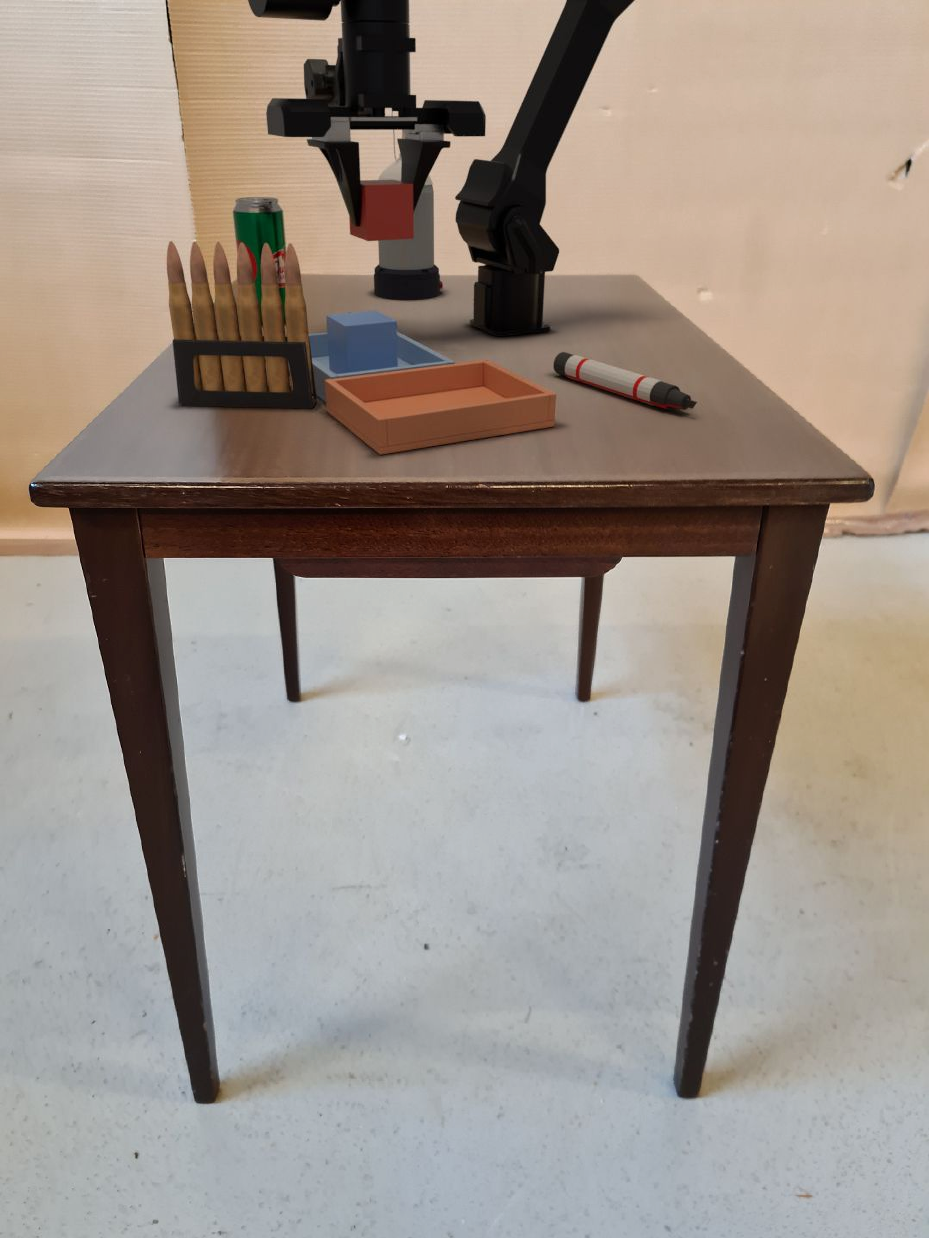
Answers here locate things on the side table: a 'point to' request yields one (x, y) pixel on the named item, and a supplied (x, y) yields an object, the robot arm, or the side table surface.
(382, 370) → the blue tray
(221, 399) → the ammunition clip
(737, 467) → the side table surface
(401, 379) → the terracotta tray
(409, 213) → the red block
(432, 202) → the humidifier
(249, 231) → the soda can
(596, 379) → the marker
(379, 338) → the blue block
